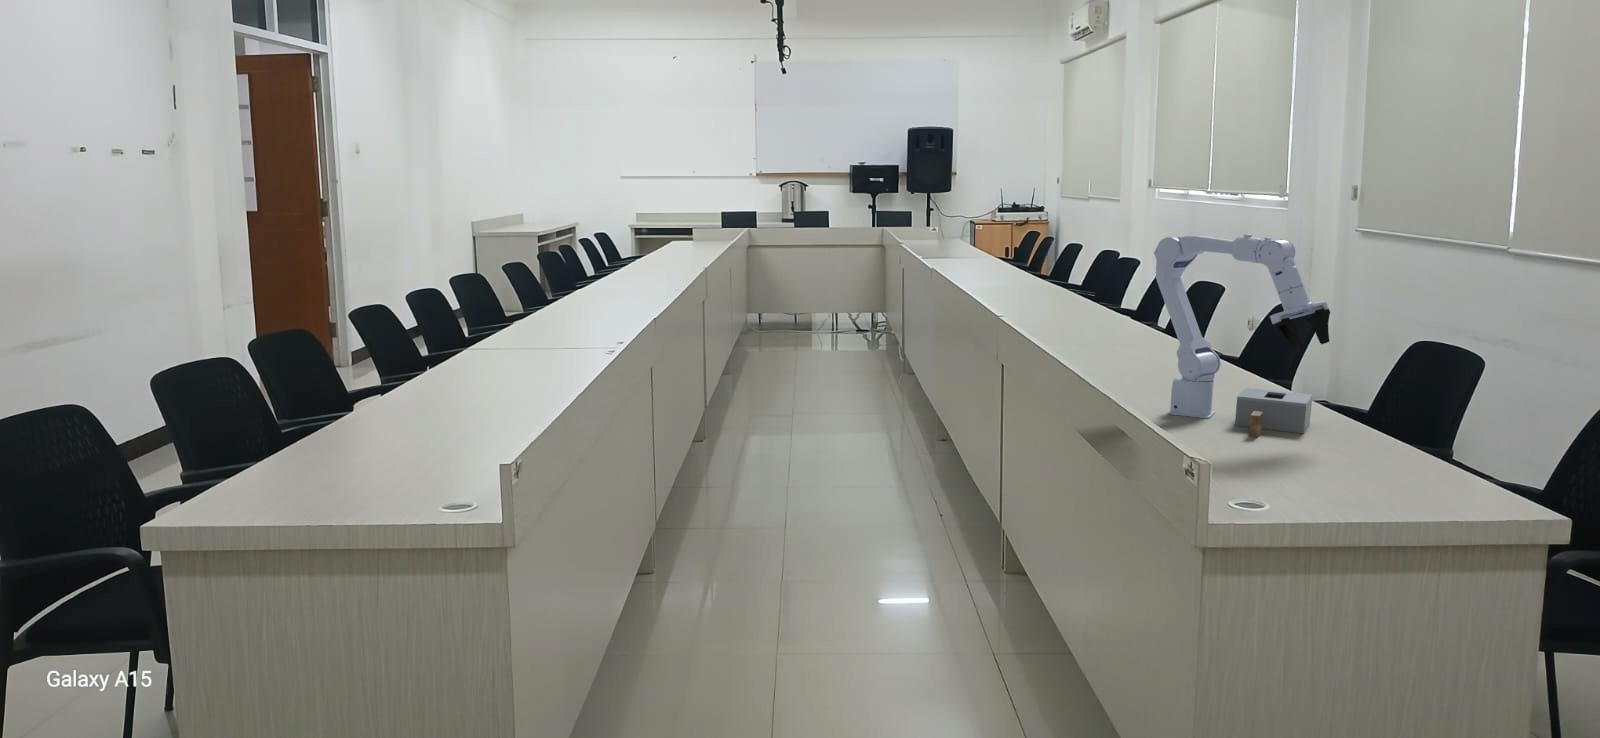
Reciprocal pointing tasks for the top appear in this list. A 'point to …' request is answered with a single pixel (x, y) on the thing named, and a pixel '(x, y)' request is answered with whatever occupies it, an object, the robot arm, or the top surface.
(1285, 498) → the top surface
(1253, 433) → the brown wooden block
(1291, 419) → the ballot box
